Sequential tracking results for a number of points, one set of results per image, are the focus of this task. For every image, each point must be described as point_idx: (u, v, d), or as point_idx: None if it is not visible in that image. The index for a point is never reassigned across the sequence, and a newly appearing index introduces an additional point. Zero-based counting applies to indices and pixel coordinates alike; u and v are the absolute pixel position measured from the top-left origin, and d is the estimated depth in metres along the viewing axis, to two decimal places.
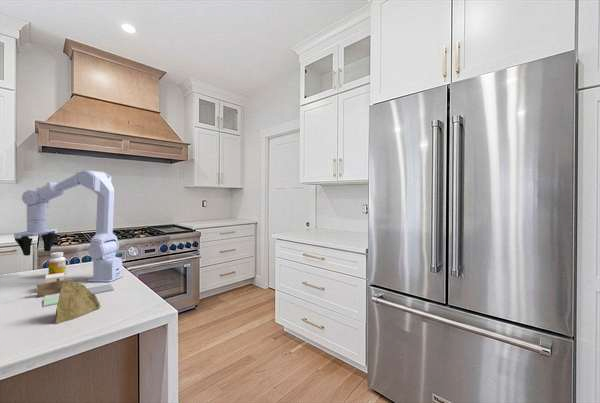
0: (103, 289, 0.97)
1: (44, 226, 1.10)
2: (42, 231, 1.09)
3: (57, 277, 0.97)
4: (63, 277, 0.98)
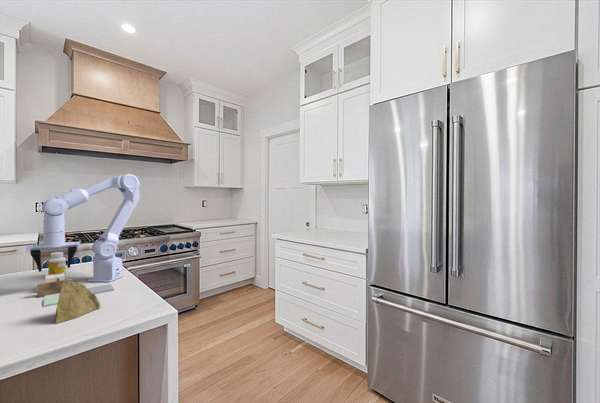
0: (103, 289, 0.97)
1: (56, 240, 0.96)
2: (53, 245, 0.95)
3: (57, 277, 0.97)
4: (63, 277, 0.98)
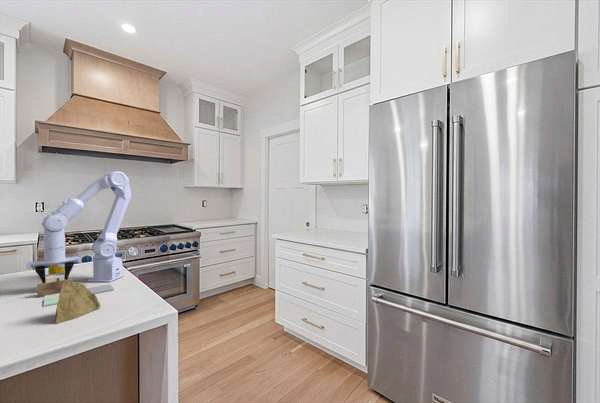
0: (103, 289, 0.97)
1: (57, 256, 0.96)
2: (53, 261, 0.96)
3: (57, 277, 0.97)
4: (63, 277, 0.98)
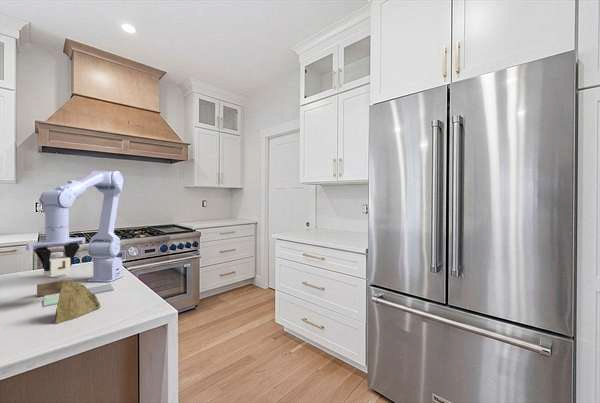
0: (103, 289, 0.97)
1: (64, 235, 0.87)
2: (60, 241, 0.86)
3: (63, 259, 0.87)
4: (69, 259, 0.89)
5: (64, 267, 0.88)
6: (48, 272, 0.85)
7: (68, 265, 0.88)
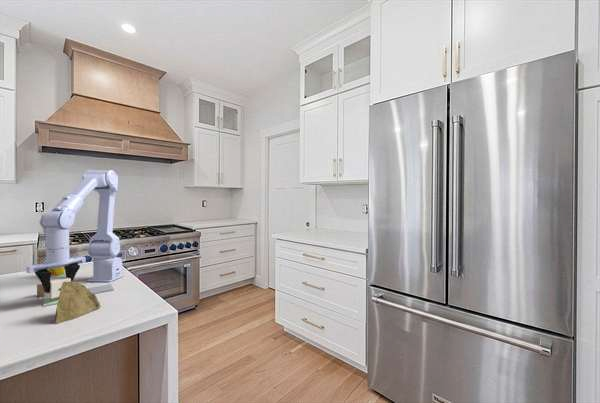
0: (103, 289, 0.97)
1: (64, 256, 0.87)
2: (61, 263, 0.86)
3: (63, 280, 0.87)
4: (69, 280, 0.89)
5: None
6: (48, 293, 0.85)
7: None
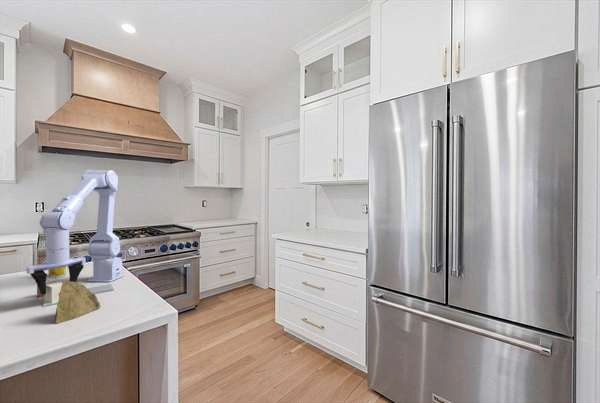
0: (103, 289, 0.97)
1: (64, 257, 0.87)
2: (61, 263, 0.86)
3: None
4: None
5: None
6: (49, 298, 0.86)
7: None
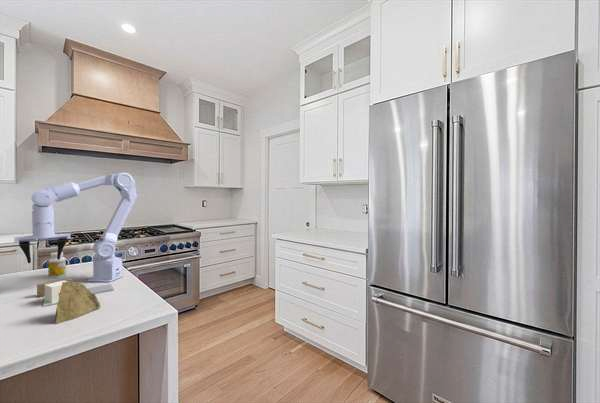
0: (103, 289, 0.97)
1: (46, 231, 0.95)
2: (42, 236, 0.95)
3: None
4: None
5: None
6: (49, 298, 0.86)
7: None
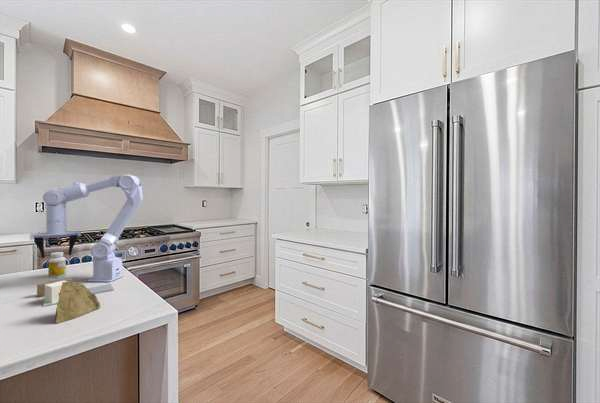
0: (103, 289, 0.97)
1: (58, 228, 1.02)
2: (55, 233, 1.02)
3: None
4: None
5: None
6: (49, 298, 0.86)
7: None
